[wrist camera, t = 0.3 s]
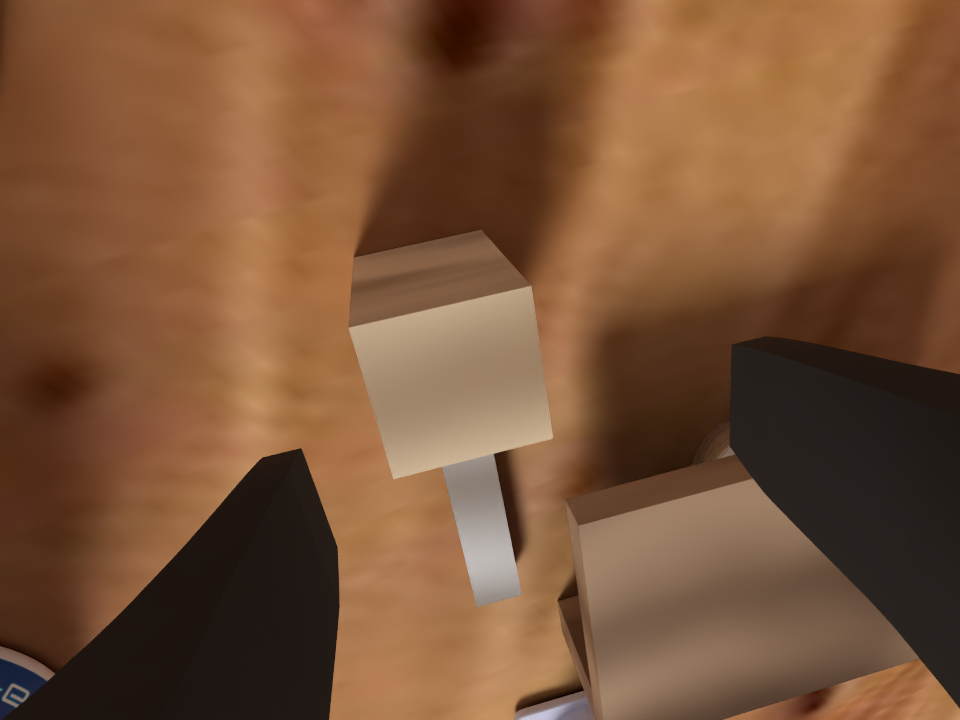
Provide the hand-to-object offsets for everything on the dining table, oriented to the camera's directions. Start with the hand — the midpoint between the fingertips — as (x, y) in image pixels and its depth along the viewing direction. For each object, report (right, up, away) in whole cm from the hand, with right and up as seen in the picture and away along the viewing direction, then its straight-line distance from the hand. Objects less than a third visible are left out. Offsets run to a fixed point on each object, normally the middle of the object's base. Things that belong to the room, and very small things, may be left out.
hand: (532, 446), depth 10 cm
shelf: (+8, -4, +15) cm, 17 cm away
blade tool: (-2, -1, +11) cm, 11 cm away
